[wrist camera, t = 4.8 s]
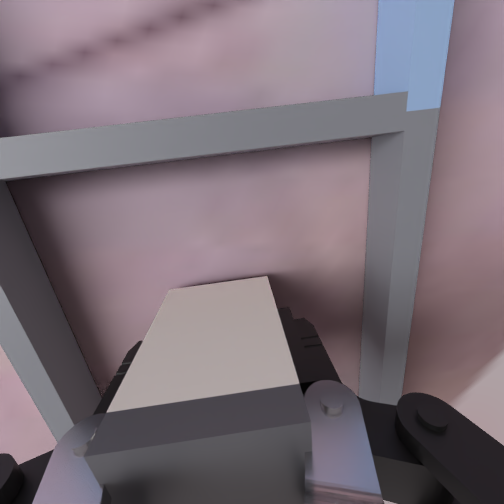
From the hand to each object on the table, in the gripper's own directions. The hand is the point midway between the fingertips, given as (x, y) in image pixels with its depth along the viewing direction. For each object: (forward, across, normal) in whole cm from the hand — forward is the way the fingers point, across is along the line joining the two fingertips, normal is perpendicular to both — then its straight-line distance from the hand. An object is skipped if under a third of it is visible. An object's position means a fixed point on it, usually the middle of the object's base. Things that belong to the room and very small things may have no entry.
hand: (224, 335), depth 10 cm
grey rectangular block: (+1, 0, 0) cm, 1 cm away
